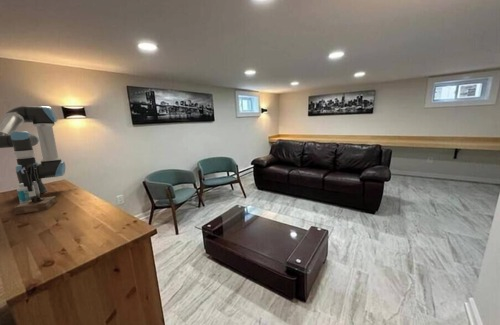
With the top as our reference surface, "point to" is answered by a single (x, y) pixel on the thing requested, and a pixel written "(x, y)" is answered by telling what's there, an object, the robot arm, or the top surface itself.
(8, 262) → the top surface
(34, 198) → the peg
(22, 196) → the pill bottle
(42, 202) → the socket block
